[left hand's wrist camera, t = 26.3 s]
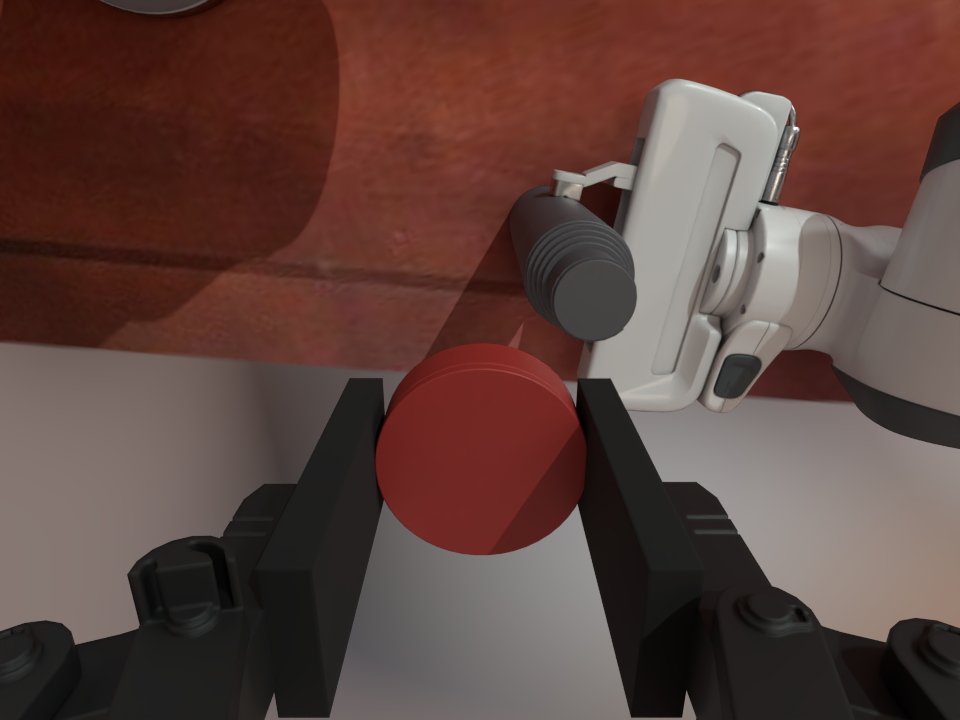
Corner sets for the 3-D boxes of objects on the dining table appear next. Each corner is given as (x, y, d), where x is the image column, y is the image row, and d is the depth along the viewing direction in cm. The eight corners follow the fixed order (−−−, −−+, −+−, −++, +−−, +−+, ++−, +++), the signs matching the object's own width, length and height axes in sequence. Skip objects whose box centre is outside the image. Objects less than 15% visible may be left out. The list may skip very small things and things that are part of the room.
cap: (363, 484, 15) (350, 524, 14) (416, 315, 14) (409, 339, 12) (538, 534, 16) (544, 577, 14) (608, 377, 14) (623, 407, 13)
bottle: (494, 217, 45) (504, 290, 25) (552, 170, 44) (612, 208, 24) (537, 272, 47) (579, 385, 26) (594, 228, 45) (685, 311, 25)
